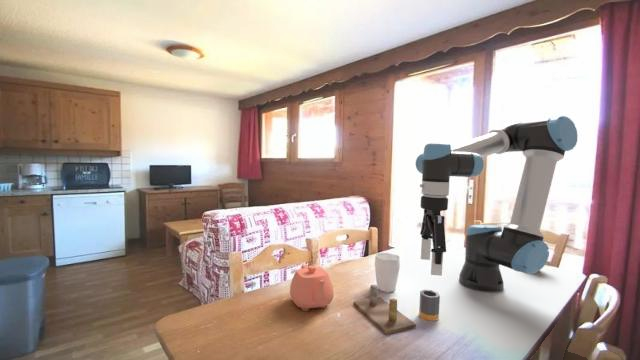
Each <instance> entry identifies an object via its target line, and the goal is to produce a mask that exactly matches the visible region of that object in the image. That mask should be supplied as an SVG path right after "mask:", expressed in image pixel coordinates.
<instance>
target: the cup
mask: <svg viewBox="0 0 640 360" xmlns="http://www.w3.org/2000/svg"><path fill="white" fill-rule="evenodd" d="M400 260H401V257H400V256H399V255H398V254H394V253H391V252H378V253H376V254H375V256H374V271H375V280H376V285H377V286H378V288H377V290H379V291H381V292H385V293H394V292H395V291H396V290H397V289H396V288H397V283H398V279H399V273H400V267H401V261H400Z"/></svg>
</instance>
